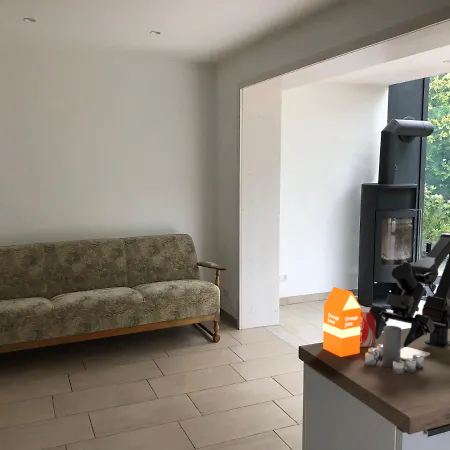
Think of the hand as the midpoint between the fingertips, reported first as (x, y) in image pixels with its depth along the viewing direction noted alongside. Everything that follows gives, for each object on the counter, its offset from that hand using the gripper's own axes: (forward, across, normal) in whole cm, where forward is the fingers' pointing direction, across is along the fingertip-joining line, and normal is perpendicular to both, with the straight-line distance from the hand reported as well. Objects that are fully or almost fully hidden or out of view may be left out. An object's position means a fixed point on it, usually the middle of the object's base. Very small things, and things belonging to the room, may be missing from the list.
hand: (389, 342), depth 151 cm
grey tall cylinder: (+4, 0, +6) cm, 7 cm away
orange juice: (+5, -17, +5) cm, 18 cm away
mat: (-4, 0, +14) cm, 14 cm away
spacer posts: (+4, 0, +6) cm, 7 cm away
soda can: (-2, -15, +12) cm, 20 cm away
